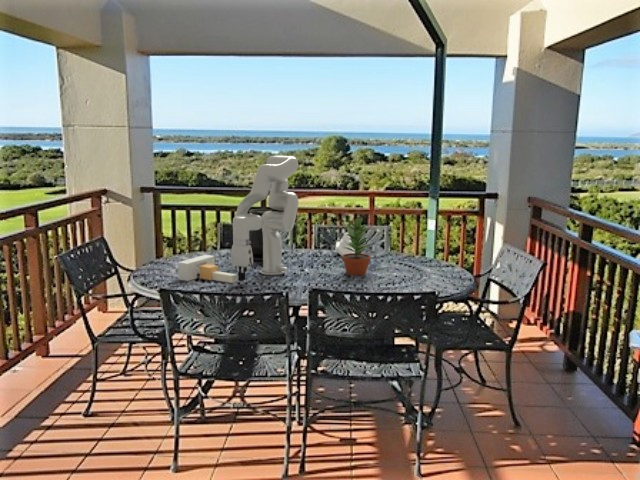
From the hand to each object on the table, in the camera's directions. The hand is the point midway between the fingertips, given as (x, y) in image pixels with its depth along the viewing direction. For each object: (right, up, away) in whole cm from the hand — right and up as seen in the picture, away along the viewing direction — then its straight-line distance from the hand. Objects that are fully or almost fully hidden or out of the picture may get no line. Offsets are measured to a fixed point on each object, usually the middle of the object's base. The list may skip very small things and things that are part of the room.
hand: (241, 280), depth 257 cm
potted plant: (+56, +2, +23) cm, 60 cm away
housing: (-24, +1, +13) cm, 28 cm away
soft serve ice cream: (+52, +11, +68) cm, 86 cm away
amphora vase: (+4, +8, +52) cm, 53 cm away
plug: (-12, 0, +7) cm, 14 cm away
